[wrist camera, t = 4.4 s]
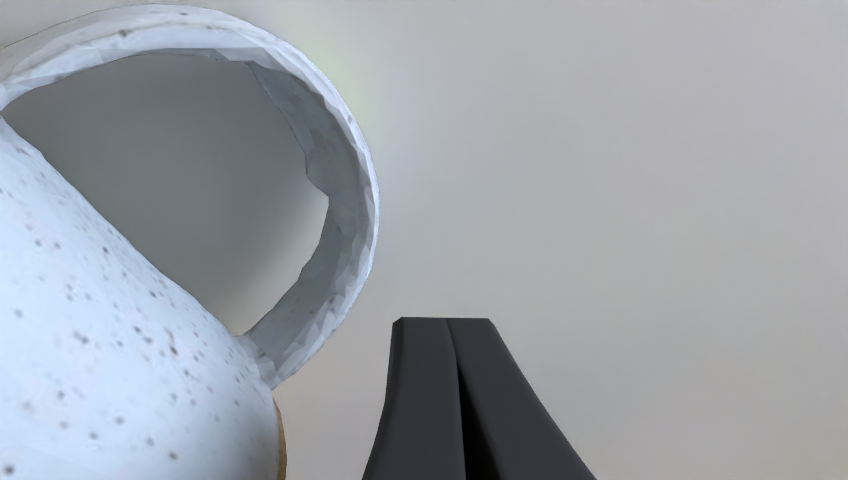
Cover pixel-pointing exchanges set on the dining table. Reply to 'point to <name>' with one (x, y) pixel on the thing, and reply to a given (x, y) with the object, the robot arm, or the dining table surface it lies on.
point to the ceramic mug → (159, 280)
